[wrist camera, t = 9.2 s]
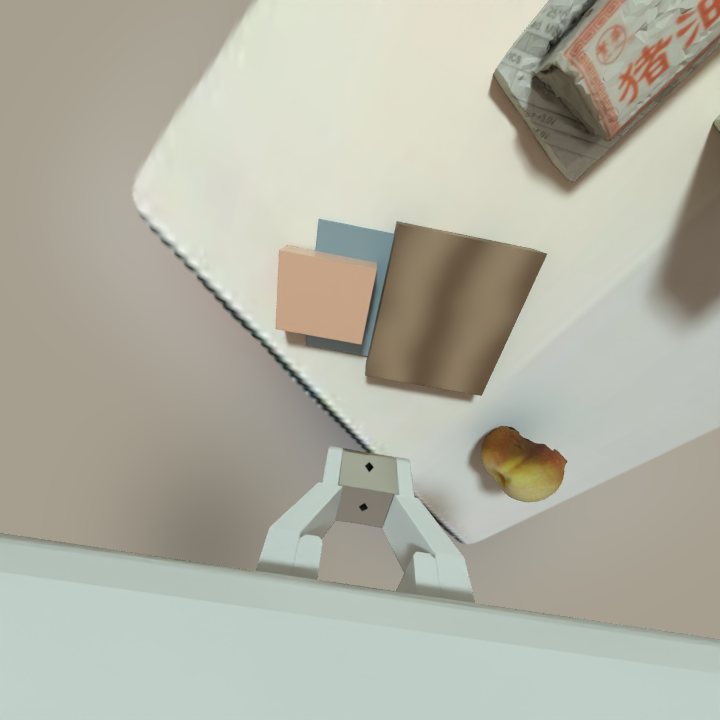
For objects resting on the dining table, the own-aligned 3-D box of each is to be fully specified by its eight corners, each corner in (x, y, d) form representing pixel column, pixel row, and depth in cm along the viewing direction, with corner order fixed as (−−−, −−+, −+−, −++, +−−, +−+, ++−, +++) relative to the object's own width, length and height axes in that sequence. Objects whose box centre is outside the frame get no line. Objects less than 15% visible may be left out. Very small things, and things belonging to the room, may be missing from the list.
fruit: (481, 407, 35) (508, 461, 28) (553, 413, 35) (598, 469, 28) (464, 455, 38) (484, 513, 31) (529, 461, 38) (564, 521, 31)
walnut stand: (532, 248, 26) (547, 254, 24) (474, 382, 33) (481, 395, 31) (397, 221, 26) (399, 224, 23) (365, 363, 32) (365, 375, 30)
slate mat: (405, 236, 26) (405, 236, 26) (376, 356, 32) (376, 357, 32) (319, 218, 26) (318, 219, 26) (306, 344, 32) (305, 345, 31)
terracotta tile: (376, 262, 27) (376, 268, 25) (362, 333, 30) (361, 344, 28) (287, 245, 27) (279, 250, 24) (282, 319, 30) (275, 329, 28)
